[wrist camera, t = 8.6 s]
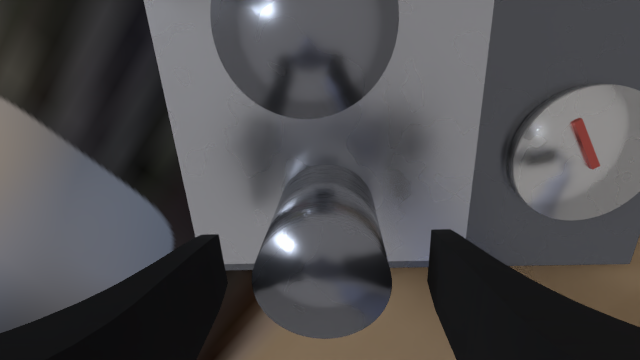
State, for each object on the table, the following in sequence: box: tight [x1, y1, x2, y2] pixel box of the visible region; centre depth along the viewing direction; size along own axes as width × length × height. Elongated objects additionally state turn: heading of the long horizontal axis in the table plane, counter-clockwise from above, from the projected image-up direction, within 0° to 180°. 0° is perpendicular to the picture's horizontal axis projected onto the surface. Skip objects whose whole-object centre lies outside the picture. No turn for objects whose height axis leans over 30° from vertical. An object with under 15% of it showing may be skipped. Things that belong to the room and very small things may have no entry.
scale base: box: [224, 0, 640, 270], centre depth 14 cm, size 14×20×2 cm
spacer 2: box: [252, 164, 392, 339], centre depth 12 cm, size 4×4×5 cm
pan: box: [144, 0, 494, 264], centre depth 13 cm, size 12×12×1 cm
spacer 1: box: [210, 0, 399, 119], centre depth 9 cm, size 4×4×5 cm
